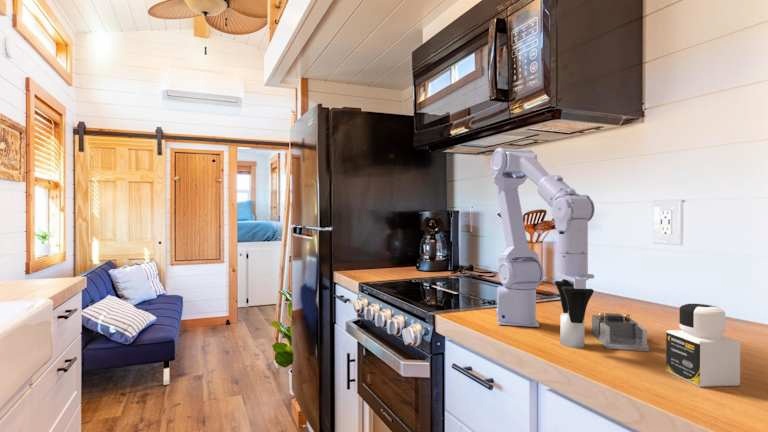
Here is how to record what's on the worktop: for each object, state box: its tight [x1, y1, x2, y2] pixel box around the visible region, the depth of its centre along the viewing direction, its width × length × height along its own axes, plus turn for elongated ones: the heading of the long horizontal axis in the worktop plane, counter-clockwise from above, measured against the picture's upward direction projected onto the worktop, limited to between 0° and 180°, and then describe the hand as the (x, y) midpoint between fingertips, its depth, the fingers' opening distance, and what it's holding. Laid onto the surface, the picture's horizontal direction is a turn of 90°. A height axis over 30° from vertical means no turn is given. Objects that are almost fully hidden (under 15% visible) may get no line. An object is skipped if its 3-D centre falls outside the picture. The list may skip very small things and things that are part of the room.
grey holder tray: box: [591, 312, 650, 352], centre depth 91 cm, size 8×12×5 cm, turn 167°
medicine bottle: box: [665, 303, 741, 388], centre depth 70 cm, size 7×7×12 cm
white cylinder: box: [559, 311, 586, 349], centre depth 89 cm, size 5×5×7 cm
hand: (572, 318), depth 89 cm, fingers open, 7 cm apart
